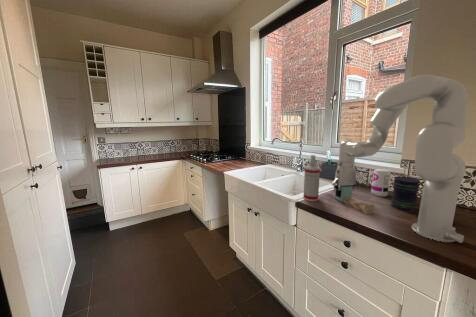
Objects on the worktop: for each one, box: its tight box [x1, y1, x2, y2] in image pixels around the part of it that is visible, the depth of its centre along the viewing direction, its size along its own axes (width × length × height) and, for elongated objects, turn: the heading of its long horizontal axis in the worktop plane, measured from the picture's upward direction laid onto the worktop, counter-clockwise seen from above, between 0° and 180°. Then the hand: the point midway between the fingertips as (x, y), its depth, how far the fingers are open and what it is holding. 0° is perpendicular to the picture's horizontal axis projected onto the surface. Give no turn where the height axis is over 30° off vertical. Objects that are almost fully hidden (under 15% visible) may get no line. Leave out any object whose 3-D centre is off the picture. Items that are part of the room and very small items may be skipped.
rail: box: [332, 187, 375, 215], centre depth 107 cm, size 23×4×8 cm, turn 13°
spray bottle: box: [302, 154, 321, 202], centre depth 114 cm, size 8×8×25 cm
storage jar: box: [390, 175, 420, 213], centre depth 103 cm, size 10×10×15 cm
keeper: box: [334, 185, 354, 203], centre depth 113 cm, size 5×6×8 cm
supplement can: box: [370, 168, 391, 197], centre depth 121 cm, size 8×8×15 cm
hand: (343, 195), depth 113 cm, fingers closed on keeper, 6 cm apart
